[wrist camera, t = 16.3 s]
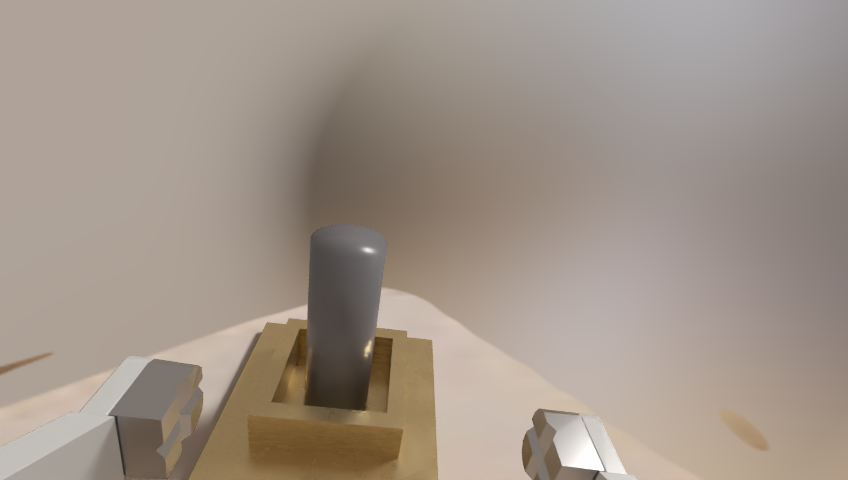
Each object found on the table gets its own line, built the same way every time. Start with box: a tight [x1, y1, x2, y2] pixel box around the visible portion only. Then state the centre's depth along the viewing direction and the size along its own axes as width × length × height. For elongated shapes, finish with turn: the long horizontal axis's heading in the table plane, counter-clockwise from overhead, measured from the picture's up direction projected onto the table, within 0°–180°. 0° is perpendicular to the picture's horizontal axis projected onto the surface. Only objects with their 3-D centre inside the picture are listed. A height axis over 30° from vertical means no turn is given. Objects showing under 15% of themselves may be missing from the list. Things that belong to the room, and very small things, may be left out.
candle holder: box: [188, 318, 438, 480], centre depth 35 cm, size 16×16×4 cm
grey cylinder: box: [304, 224, 387, 411], centre depth 32 cm, size 5×5×14 cm
